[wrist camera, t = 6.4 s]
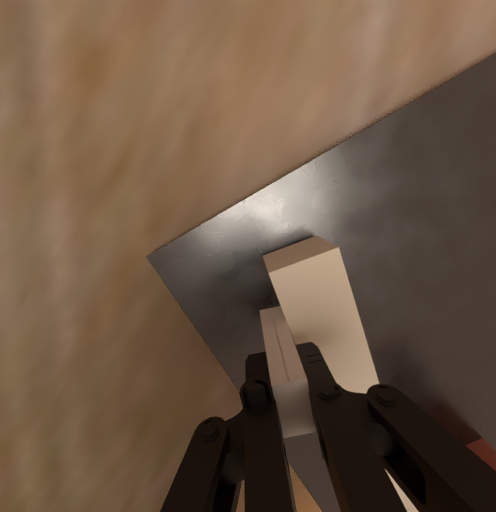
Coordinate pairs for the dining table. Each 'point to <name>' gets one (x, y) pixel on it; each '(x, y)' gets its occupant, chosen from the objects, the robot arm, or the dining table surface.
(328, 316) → the link
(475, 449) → the block
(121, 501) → the dining table surface
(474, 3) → the dining table surface
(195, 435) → the robot arm
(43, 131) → the dining table surface
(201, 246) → the base plate
